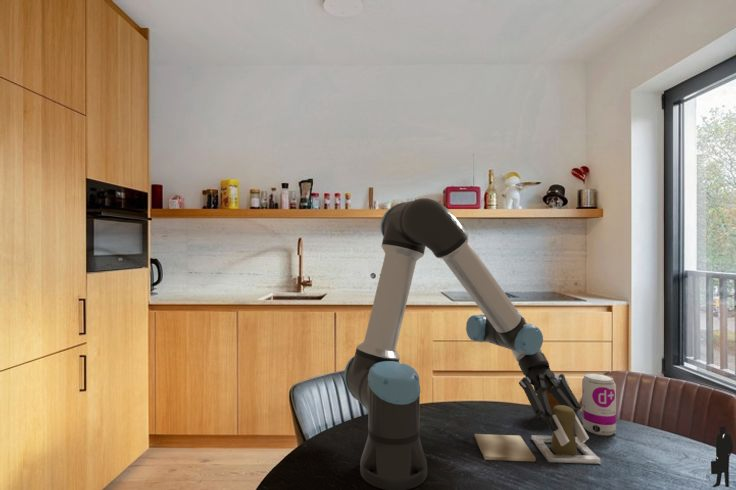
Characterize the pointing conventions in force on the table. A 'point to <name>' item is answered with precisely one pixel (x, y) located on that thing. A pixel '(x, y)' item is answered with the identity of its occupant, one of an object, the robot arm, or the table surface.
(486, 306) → the robot arm
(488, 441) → the birch board
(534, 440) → the shaker dock
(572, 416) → the cork
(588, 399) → the supplement can
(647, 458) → the table surface
